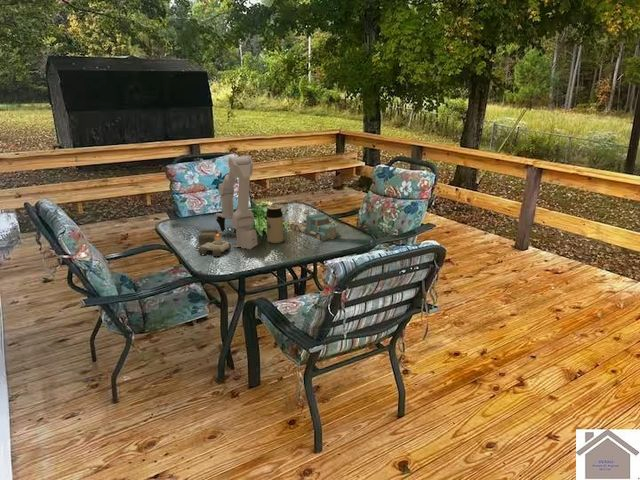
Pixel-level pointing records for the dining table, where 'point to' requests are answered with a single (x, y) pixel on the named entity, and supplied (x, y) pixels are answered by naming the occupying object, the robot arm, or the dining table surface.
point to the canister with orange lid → (218, 239)
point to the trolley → (214, 248)
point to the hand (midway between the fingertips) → (229, 231)
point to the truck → (317, 227)
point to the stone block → (207, 236)
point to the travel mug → (274, 224)
